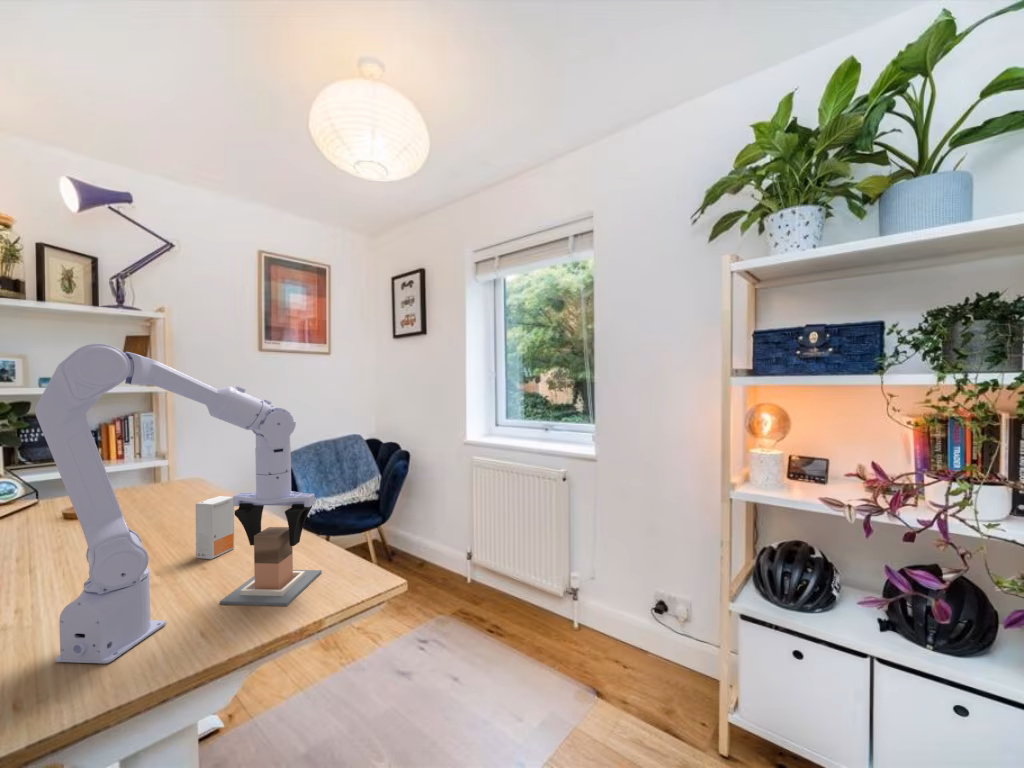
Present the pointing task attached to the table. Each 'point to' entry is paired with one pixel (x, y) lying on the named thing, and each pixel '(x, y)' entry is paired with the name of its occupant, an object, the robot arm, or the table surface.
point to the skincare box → (214, 527)
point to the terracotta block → (273, 574)
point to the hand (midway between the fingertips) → (275, 543)
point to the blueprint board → (271, 591)
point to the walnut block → (272, 545)
